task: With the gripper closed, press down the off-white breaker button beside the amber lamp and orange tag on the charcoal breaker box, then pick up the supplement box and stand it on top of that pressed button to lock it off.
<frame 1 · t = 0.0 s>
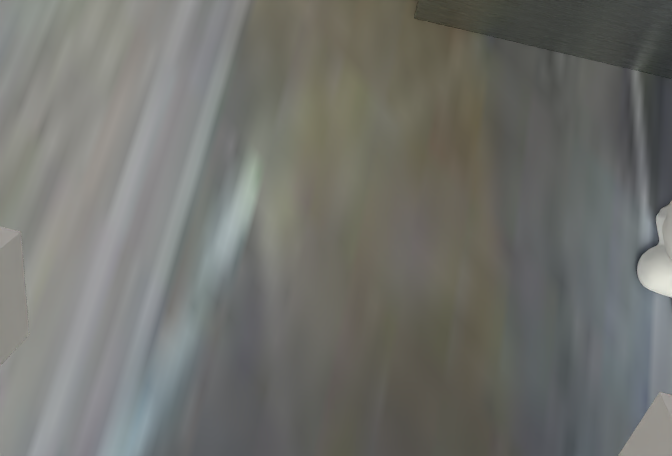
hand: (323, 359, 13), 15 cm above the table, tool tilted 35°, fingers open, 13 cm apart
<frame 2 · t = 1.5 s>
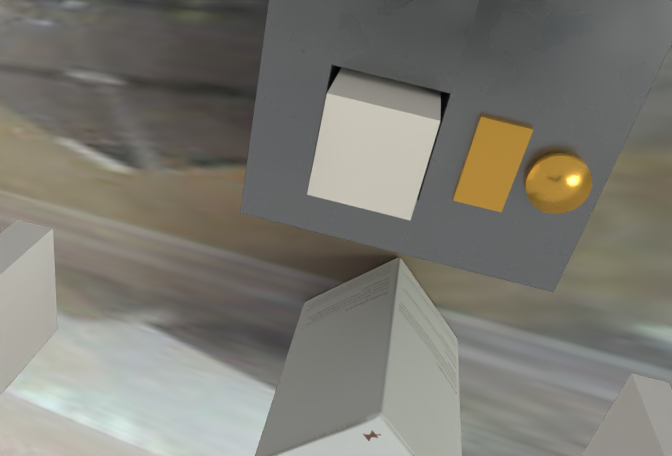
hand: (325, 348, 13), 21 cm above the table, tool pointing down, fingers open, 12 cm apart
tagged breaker: (377, 135, 24), point 8 cm above the table, slide at 0.0 cm
supplement box: (381, 318, 38), on the table
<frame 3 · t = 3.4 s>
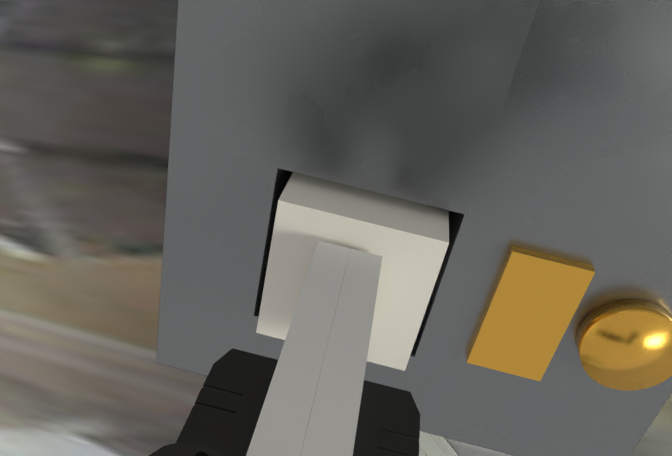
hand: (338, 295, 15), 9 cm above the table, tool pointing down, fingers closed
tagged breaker: (357, 239, 17), point 6 cm above the table, slide at 1.5 cm, touching gripper
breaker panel: (472, 30, 20), on the table
supplement box: (368, 438, 30), on the table
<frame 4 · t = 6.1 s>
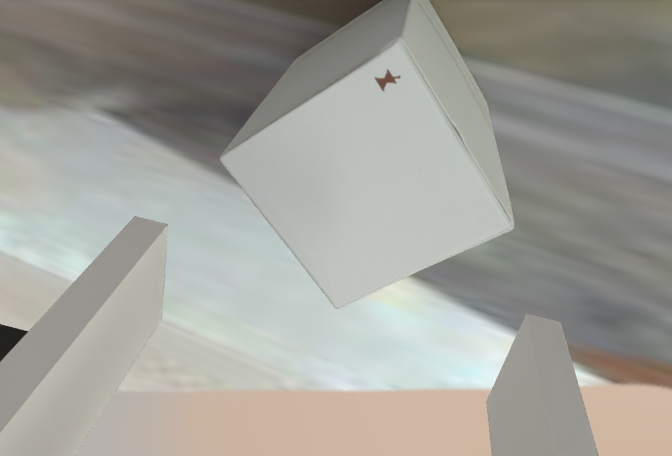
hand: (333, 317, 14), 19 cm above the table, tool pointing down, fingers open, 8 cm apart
supplement box: (390, 82, 31), on the table
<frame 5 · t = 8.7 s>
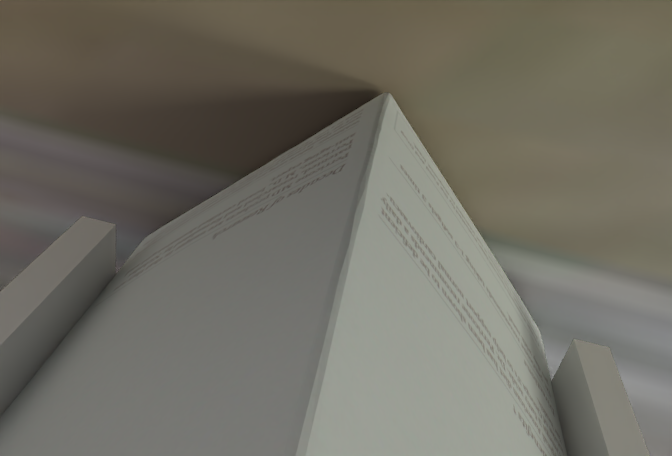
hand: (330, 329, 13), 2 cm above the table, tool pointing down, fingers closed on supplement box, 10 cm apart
supplement box: (342, 280, 15), on the table, touching gripper
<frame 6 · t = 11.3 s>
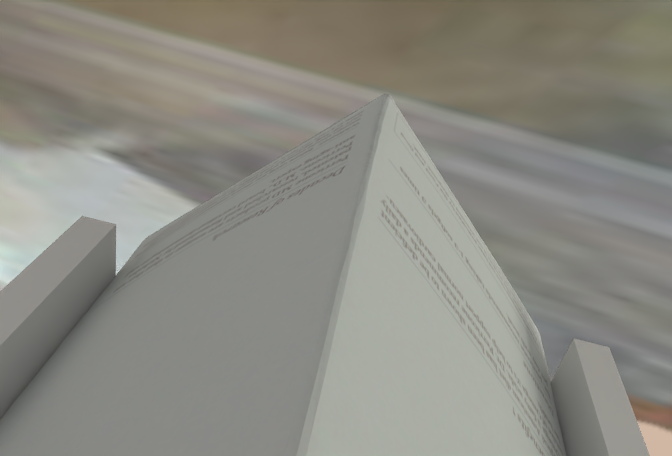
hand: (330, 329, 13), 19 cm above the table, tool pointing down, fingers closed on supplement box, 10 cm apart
supplement box: (342, 281, 15), point 18 cm above the table, touching gripper
when the fingers open (11 cm above the table, at t = 14.2 s): supplement box stays where it is, resting on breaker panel.
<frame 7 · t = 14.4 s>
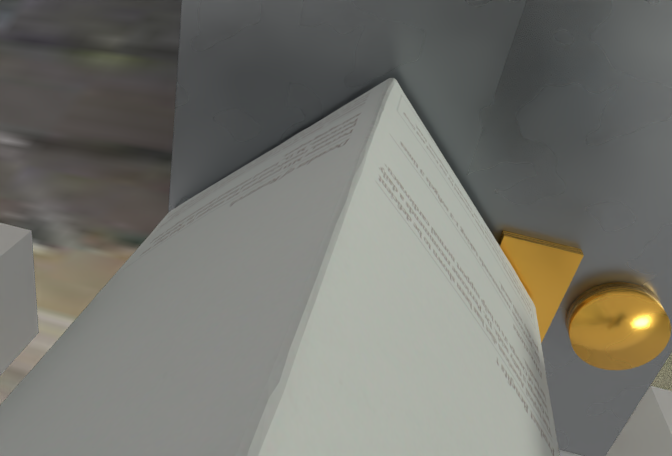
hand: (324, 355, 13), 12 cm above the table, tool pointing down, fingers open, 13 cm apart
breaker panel: (465, 24, 21), on the table
supplement box: (350, 255, 16), point 8 cm above the table, touching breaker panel
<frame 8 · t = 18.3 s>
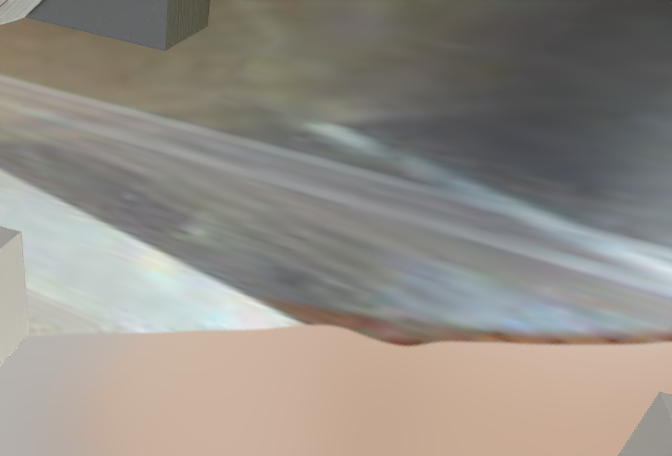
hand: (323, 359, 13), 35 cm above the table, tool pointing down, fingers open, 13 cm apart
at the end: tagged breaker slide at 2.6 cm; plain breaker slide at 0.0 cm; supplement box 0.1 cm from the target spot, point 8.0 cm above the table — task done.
